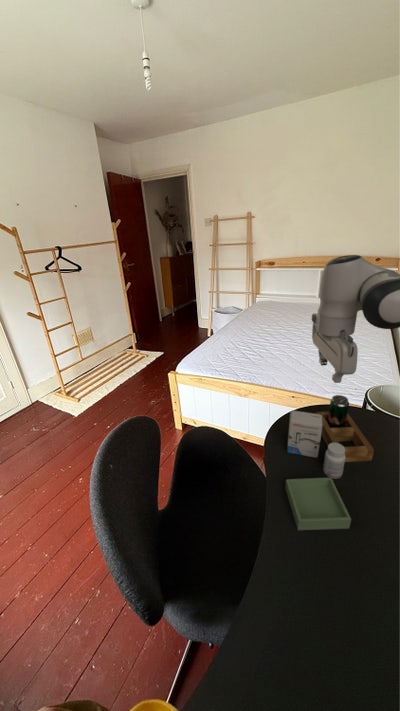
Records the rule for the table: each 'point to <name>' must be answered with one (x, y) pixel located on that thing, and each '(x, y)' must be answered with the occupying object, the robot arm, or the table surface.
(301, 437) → the ink box
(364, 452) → the rack
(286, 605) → the table surface
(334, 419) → the soda can
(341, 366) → the robot arm
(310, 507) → the tray
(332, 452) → the pill bottle
